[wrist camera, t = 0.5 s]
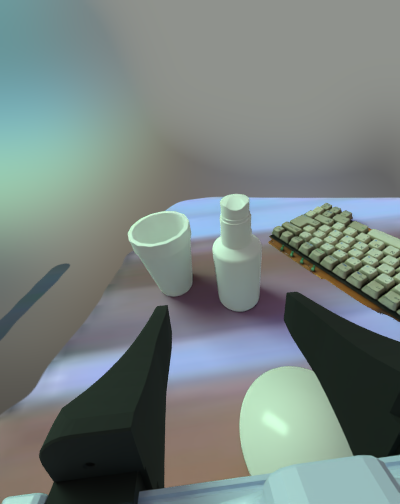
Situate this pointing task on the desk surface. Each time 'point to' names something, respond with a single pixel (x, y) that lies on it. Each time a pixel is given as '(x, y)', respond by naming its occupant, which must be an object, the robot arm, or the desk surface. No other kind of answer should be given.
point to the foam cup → (165, 250)
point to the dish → (288, 422)
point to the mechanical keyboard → (345, 255)
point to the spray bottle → (237, 256)
